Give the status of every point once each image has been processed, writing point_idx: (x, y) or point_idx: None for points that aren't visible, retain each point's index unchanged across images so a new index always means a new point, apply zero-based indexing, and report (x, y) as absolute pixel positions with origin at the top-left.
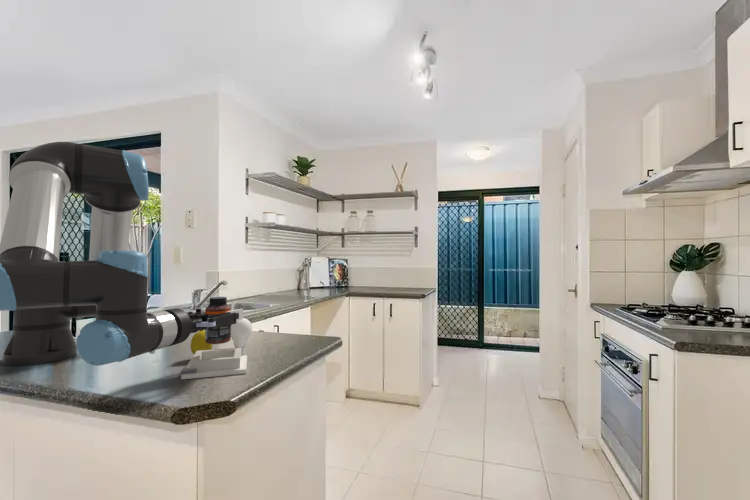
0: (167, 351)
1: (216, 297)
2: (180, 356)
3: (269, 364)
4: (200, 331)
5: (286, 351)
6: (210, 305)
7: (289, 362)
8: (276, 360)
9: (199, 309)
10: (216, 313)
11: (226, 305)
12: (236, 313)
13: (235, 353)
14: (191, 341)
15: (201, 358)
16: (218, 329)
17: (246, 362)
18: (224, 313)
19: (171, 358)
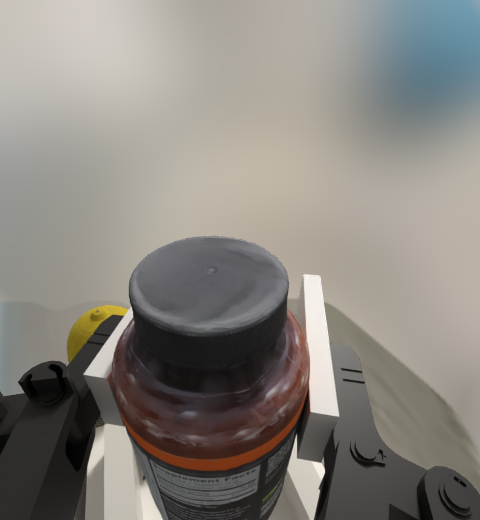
0: (6, 314)
1: (195, 274)
2: (47, 358)
3: (386, 442)
4: (94, 320)
5: (338, 310)
6: (159, 376)
7: (433, 414)
8: (373, 392)
9: (54, 379)
10: (245, 463)
11: (286, 329)
12: (353, 369)
13: (293, 470)
14: (68, 358)
15: (137, 474)
16: (253, 509)
17: (324, 470)
18: (352, 499)
19: (17, 380)
